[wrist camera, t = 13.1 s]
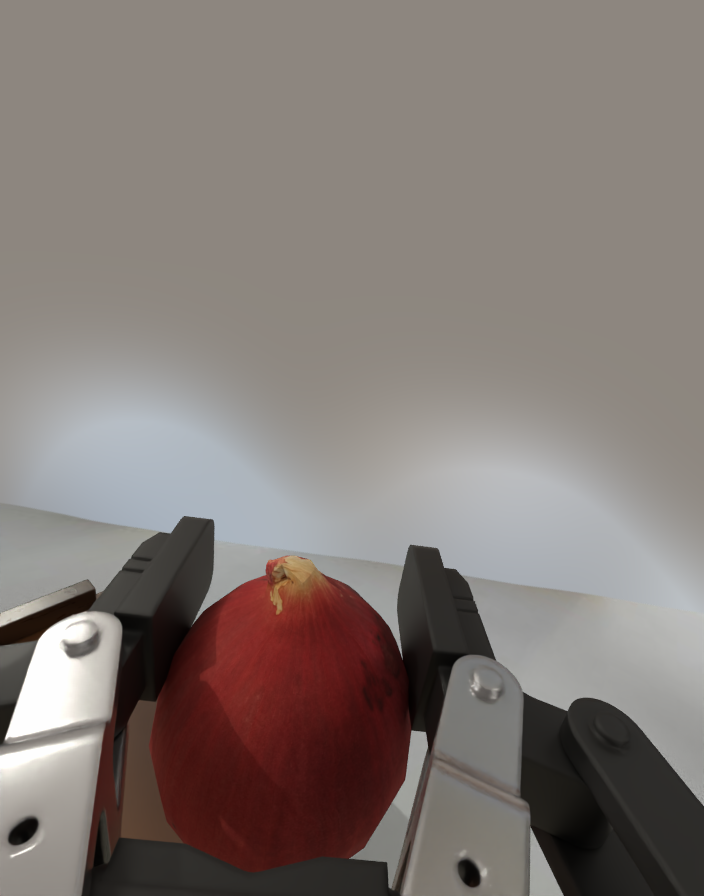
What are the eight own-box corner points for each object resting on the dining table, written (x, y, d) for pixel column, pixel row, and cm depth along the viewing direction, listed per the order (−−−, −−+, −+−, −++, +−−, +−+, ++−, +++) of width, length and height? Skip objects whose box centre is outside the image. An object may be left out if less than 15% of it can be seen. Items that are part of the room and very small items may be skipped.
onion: (316, 678, 15) (347, 475, 12) (428, 852, 11) (517, 607, 8) (134, 763, 12) (118, 514, 9) (196, 1059, 8) (204, 772, 5)
